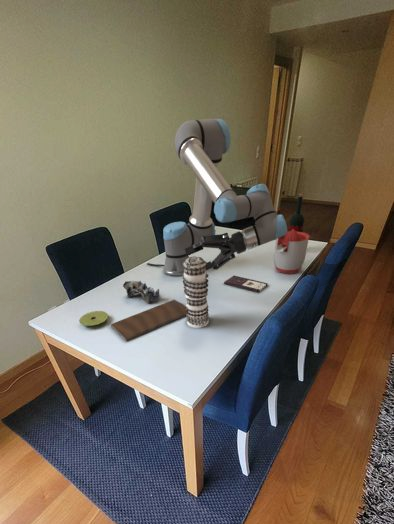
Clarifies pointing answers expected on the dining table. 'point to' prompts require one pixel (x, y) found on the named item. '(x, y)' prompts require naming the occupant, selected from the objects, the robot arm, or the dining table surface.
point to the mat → (93, 318)
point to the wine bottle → (297, 217)
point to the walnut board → (149, 319)
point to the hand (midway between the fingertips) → (191, 261)
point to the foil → (140, 290)
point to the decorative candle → (196, 291)
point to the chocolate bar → (245, 283)
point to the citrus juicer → (290, 251)
